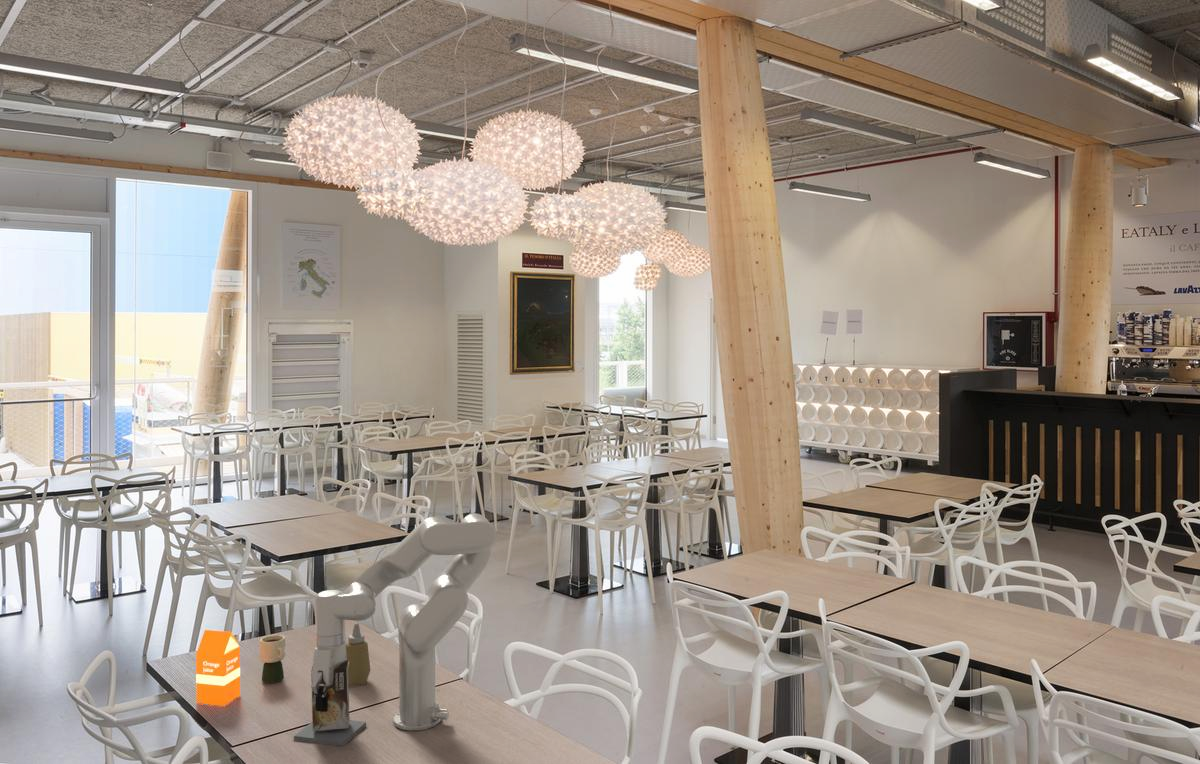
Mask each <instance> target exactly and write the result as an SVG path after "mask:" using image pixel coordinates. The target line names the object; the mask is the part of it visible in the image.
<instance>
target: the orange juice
mask: <svg viewBox="0 0 1200 764" xmlns="http://www.w3.org/2000/svg"><path fill="white" fill-rule="evenodd" d="M199 642H200V643H199V645H198V649H197V651H196V653H195V656H196V657H195V660H196V661H195V664H196V665H195V668H196V670H195V672H196V673H195V678H196V679H195V682H196V683H195V684H196V685H195V686H196V704H197V703H203V704H211V705H210V706H213V705H221V706H220V707H222V706H224V707H226V706H227V705H229V704H230V703H229V702H231V701H232V700H234V699H235V698H237V697H238V698H240V697H241V654H240V653H241V651H240V650H241V647H240V645H239V643H238V641H237V639H236V637H235V636H234V634H233V633H232V631H224V630H223V631H222V630H210V629H204V631H203V633H202V637H201V640H200V641H199ZM239 696H240V697H239ZM238 698H237V699H238ZM235 700H236V699H235ZM235 700H234V701H235ZM232 702H233V701H232ZM232 702H231V703H232ZM228 703H229V704H228ZM203 704H202V705H203ZM226 704H227V705H226ZM225 705H226V706H225Z"/></svg>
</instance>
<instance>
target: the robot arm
mask: <svg viewBox="0 0 1200 764" xmlns="http://www.w3.org/2000/svg"><path fill="white" fill-rule="evenodd" d="M496 541H497V531H496V529H495V526H494V525H493V523H491V522H490V521H489V520H488V518H487V517H485V515H482V514H480V513H475V512H473V513H469V514H468V515H466V516H465V517H464V518H463V519H462V520H461V522H446V521H444V519H442V518H440V517H437V516H430V517H426V518H425V519H424V520H422V521H421V522H420V523H419V524H418V525H417V526H416V527H414V528H413V530H412V531H411V532H410V533H409V534H407V535H406V536H405V537H404V539H402V540H401V542H399V543H398V544H397V545H396V546H395V547H393V549H392V550H391V551H389V552H388V553H387V554H385V555H384V556H383V557H381V558H380V559H379V560H377V561H376V562H374V563H372V565H369V567H367V568H366V569H365V570H364V571H362V573H361V574H360V575H359V576H358V577H357V578H356V579H354V581H353V582H352V583H351V584H350V585H349V586H348V588H347V589H346V590H345V593H344V592H343V591H342V590H338V589H329V590H328V589H327V590H322V591H319V592H318V593H317V594H316V596H315V598H314V600H315V601H314V612H315V613H314V614H315V617H314V618H315V623H314V625H315V626H314V627H315V629H314V630H315V648H314V652H313V658H312V659H313V661H312V666H313V670H312V669H311V671H312V682H311V686H310V687H311V691H312V690H313V693H314V696H315V699H316V711H320V712H327V711H328V696H326V694H327V691H328V687H329V686H331V685H332V684H333V679H334V669H336V668H337V667H339V666H340V665H341V664H343V663H344V662H345V661H346V660H347V655H346V644H347V642H346V641H347V640H346V621H357V622H358V621H361V622H362V621H365V620H368V619H370V618H372V616H373V615H374V613H376V609H377V602H376V597H378V595H380V593H382V592H383V591H384V590H385V589H386V588H388V586H389V585H391V584H393V583H394V582H396V581H398V580H401V579H402V580H403V579H406V578H409V577H411V576H413V575H414V574H415V573H416V572H417V571H418V570H419V569H420V568H421V567H422V566H423V565H424V564H425V563H426V562H427V561H428V560H429V559H431V557H432V556H433V555H434V556H455V557H454V558H453V559H452V560H451V562H450V563H449V564H448V565H447V566H446V567H445V568H444V569H443V571H441V573H439V575H438V576H437V577H435V579H434V580H433V581H432V583H431V584H430V585H429V586H428V590H427V597H428V601H427V603H426V604H422V603H413V604H410V605H408V606H406V607H405V608H404V609H403V610H402V612H401V614H400V615H399V617H398V622H397V623H398V625H397V628H398V631H397V632H398V646H399V647H398V650H399V651H398V653H399V658H398V659H399V663H398V664H399V665H398V666H399V669H398V670H399V676H398V679H399V682H398V683H399V685H398V688H399V689H398V690H399V692H398V693H399V695H398V698H399V703H398V704H399V705H398V707H399V711H398V712H397V713H396V714H395V715H394V716H393V724H394V726H395V727H396V728H398V729H399V730H404V731H422V730H429V729H430V728H433V727H435V726H437V725H438V724H440V722H441V720H443V721H444V720H446V721H447V720H448V719H449V710H448V708H440V704H439V701H436V646H437V645H439V643H440V642H441V641H442V640H443V639H444V637H445V636H446V635H447V634H448V633H449V632H450V631H451V629H452V628H453V627H454V626H455V625H456V624H457V623H458V622H459V620H460V619H461V618H462V617H463V615H464V613H465V612H466V610H467V607H468V605H469V594H468V590H470V588H471V587H472V586H473V585H474V583H475V582H476V581H477V579H478V578H479V577H480V576H481V575H482V573H483V572H484V570H485V568H486V567H487V565H488V562H489V560H490V556H491V550H492V547H494V545H495V544H496ZM348 667H349V661H348ZM322 678H323V679H324V682H326V684H320V682H321V680H322ZM320 687H324V690H323V691H322V690H321V689H320Z"/></svg>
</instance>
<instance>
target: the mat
mask: <svg viewBox="0 0 1200 764" xmlns="http://www.w3.org/2000/svg"><path fill="white" fill-rule="evenodd" d="M366 726H367V722H366V721H361V720H360V721H359V720H353V719H350V721H349V727H348V728H344V729H333V730H322V731H313V723H312V721H311V722H309V724H307V725H306V726H305V727H304V728H302V729H300V731H298V732H297V733H295V734H294V735H293V740H295V741H301V740H302V741H304V742H310V743H316V742H317V743H318V744H325V745H333V746H339V747H341V746H342V747H343V746H345V745H346V744H348V742H350V740H352V739H353V738H354V737H355V736H356V735H358V734H359V733H360V732H361V731H362V730H363V729H364V728H365V727H366Z"/></svg>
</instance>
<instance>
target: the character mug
mask: <svg viewBox="0 0 1200 764" xmlns="http://www.w3.org/2000/svg"><path fill="white" fill-rule="evenodd" d="M285 648H286V637H285V635H282V634H271V635H266V636H263V637H261V638H260V640H259V649H260V650H259V659H260V662H261V663H263V667H262V674H261V682H263V683H277V682H279V681H282V680H284V679H285V674H284V668H283V663H282V661H283V659H284V658H286V652H285Z"/></svg>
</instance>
